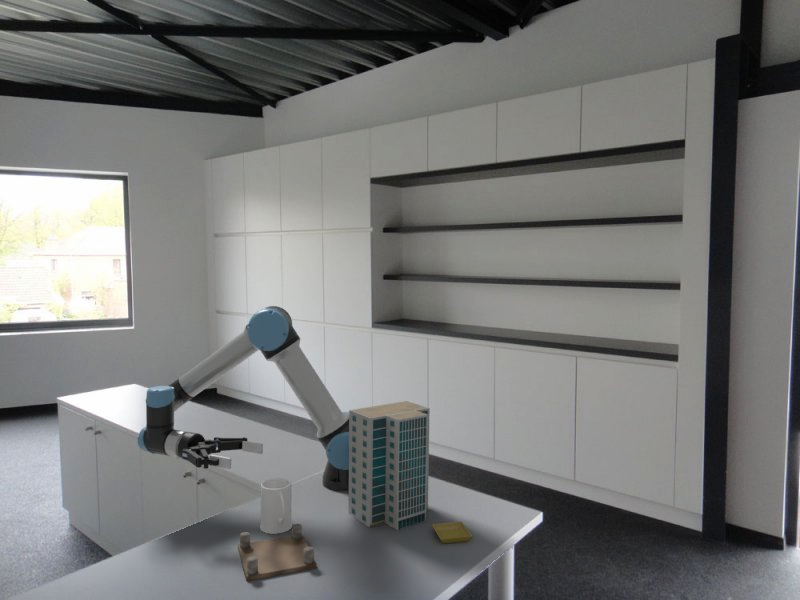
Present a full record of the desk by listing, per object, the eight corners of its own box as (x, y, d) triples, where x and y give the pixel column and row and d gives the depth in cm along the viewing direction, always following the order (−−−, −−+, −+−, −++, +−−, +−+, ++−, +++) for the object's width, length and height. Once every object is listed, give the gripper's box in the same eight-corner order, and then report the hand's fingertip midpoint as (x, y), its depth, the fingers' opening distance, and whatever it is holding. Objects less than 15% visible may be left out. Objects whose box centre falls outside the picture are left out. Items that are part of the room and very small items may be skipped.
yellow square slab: (472, 543, 148) (472, 535, 148) (440, 546, 146) (440, 538, 146) (461, 528, 156) (462, 521, 156) (431, 531, 154) (431, 524, 154)
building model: (381, 535, 151) (382, 422, 149) (348, 513, 164) (349, 410, 162) (440, 516, 163) (441, 412, 161) (405, 497, 176) (406, 400, 175)
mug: (297, 536, 150) (297, 491, 149) (264, 542, 146) (264, 496, 146) (288, 518, 160) (289, 476, 160) (257, 522, 157) (257, 479, 157)
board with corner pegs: (301, 537, 149) (301, 522, 149) (316, 567, 134) (316, 551, 134) (237, 548, 143) (237, 532, 143) (246, 581, 128) (246, 563, 128)
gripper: (215, 446, 176) (273, 456, 168) (151, 471, 153) (215, 485, 145) (215, 422, 176) (273, 430, 167) (151, 444, 153) (215, 455, 144)
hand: (246, 456), depth 156 cm, fingers open, 13 cm apart
